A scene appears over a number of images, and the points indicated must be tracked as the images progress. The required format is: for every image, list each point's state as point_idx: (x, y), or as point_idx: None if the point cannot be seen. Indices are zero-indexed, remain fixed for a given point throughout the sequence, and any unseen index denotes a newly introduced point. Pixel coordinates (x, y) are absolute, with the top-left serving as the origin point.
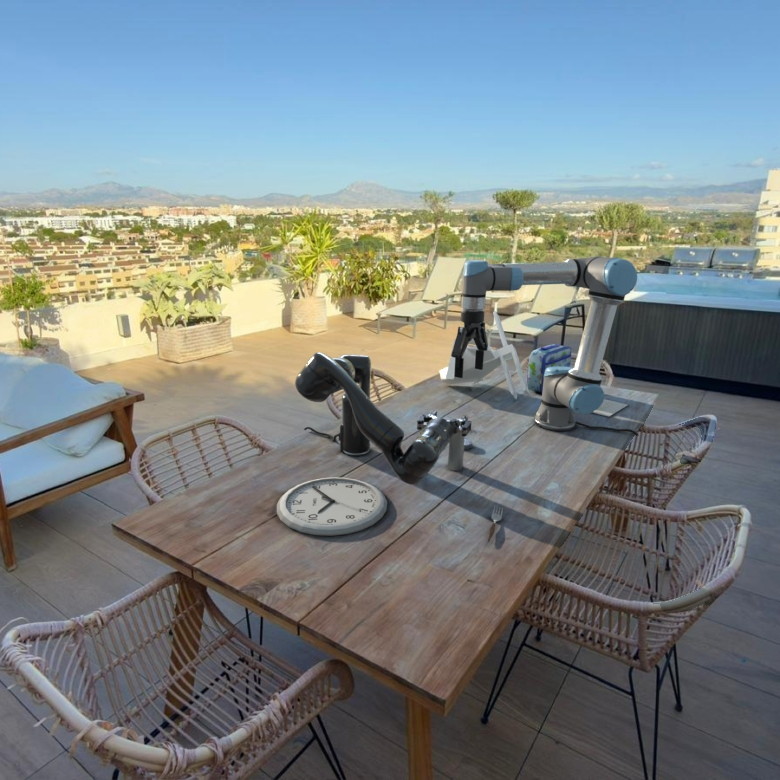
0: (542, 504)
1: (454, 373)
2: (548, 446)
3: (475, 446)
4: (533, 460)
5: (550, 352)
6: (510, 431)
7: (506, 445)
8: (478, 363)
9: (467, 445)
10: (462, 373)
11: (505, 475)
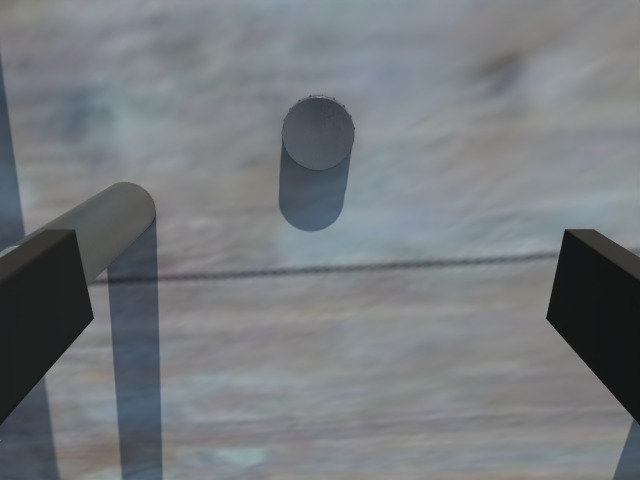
0: (132, 469)
1: (20, 246)
2: (510, 363)
3: (350, 169)
4: (366, 369)
5: None
6: (590, 206)
7: (434, 256)
8: (598, 312)
9: (298, 163)
10: (55, 349)
11: (206, 350)
